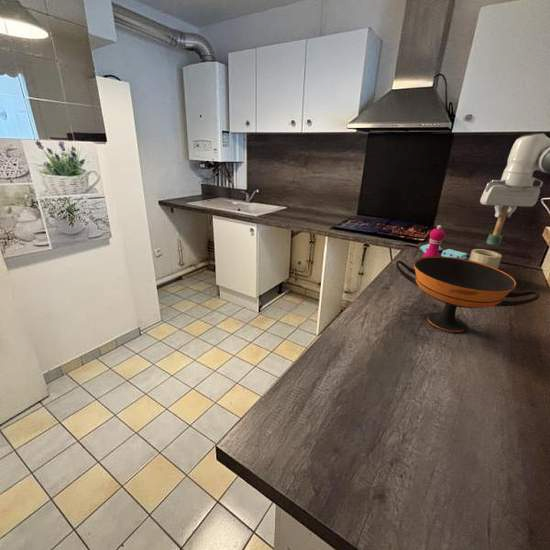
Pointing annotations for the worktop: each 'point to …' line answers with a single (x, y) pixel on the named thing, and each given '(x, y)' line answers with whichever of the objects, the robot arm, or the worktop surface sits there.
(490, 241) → the brush
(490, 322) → the worktop surface
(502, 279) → the cup
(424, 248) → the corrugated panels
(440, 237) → the pepper mill
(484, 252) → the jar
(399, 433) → the worktop surface
